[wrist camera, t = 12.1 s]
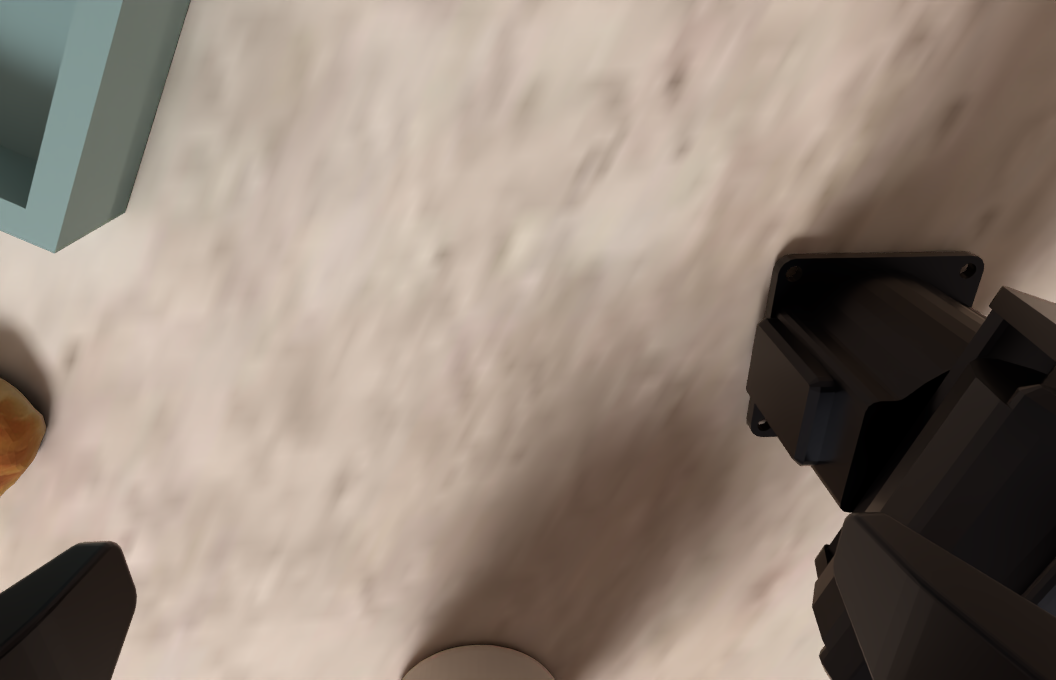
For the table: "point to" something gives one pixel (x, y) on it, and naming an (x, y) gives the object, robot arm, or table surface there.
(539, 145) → the table surface
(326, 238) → the table surface
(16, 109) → the tray
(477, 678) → the coffee cup
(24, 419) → the pastry
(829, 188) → the table surface
